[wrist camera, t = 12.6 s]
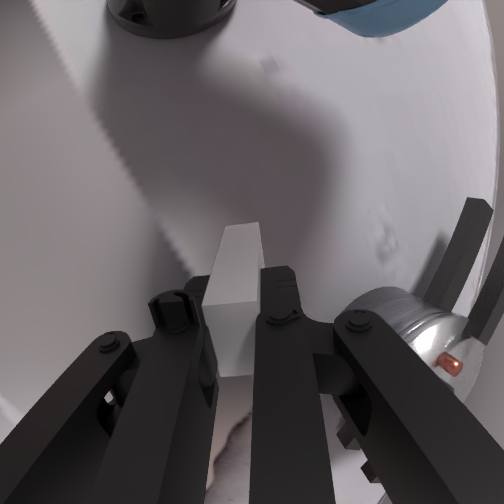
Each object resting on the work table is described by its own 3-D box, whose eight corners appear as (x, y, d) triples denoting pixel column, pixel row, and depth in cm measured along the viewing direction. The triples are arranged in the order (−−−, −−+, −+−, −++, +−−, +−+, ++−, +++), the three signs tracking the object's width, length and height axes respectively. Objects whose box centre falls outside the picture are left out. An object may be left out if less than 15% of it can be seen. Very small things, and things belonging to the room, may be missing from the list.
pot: (278, 254, 35) (317, 283, 24) (449, 191, 38) (509, 197, 27) (324, 420, 41) (355, 471, 31) (459, 345, 44) (502, 373, 34)
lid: (403, 465, 32) (417, 482, 28) (309, 456, 28) (322, 482, 24) (535, 238, 29) (556, 244, 26) (480, 158, 25) (508, 158, 21)
